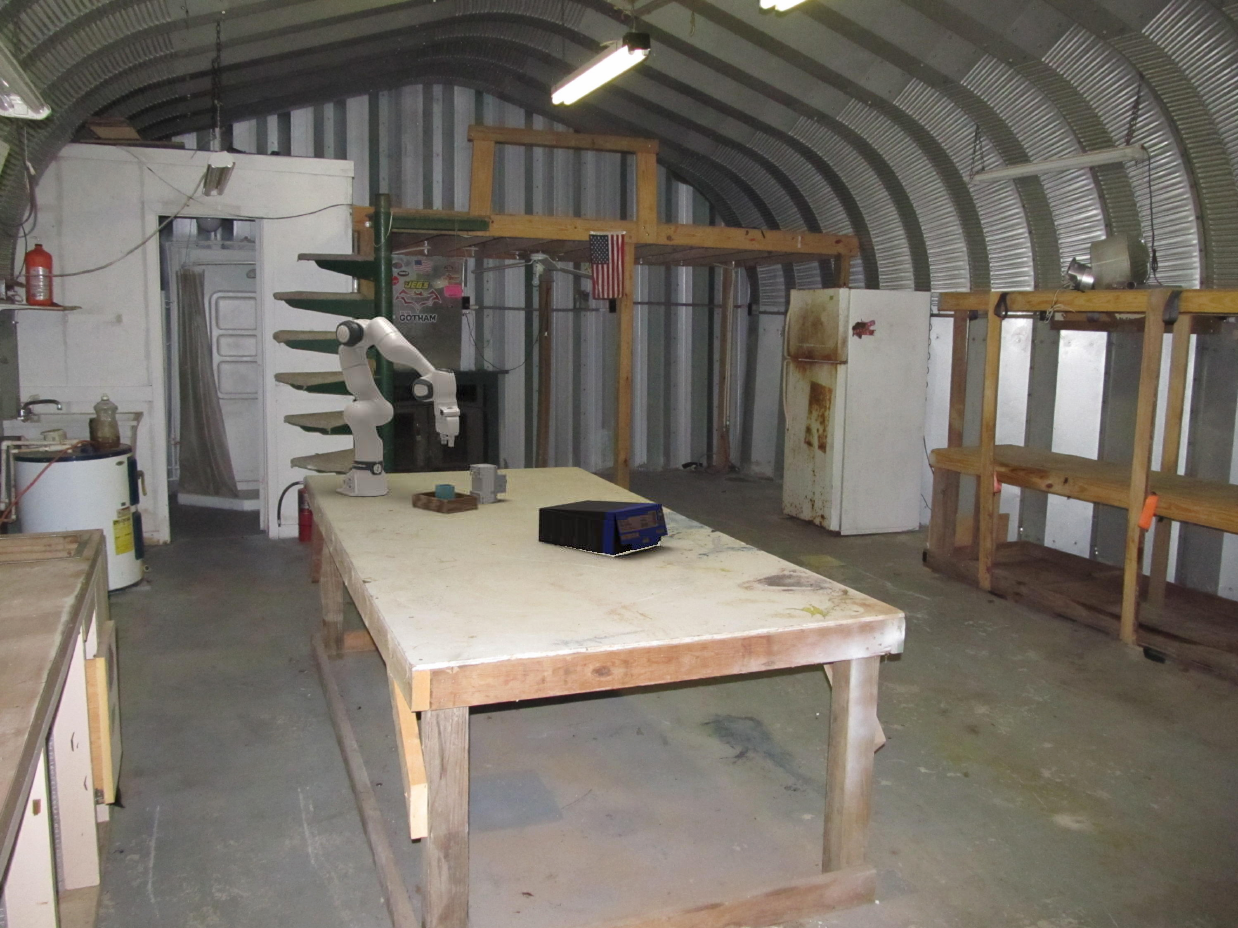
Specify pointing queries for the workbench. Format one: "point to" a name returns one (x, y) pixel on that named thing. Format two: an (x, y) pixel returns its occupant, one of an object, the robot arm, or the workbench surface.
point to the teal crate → (445, 491)
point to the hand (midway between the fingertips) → (447, 445)
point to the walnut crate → (445, 502)
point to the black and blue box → (602, 525)
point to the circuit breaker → (487, 482)
